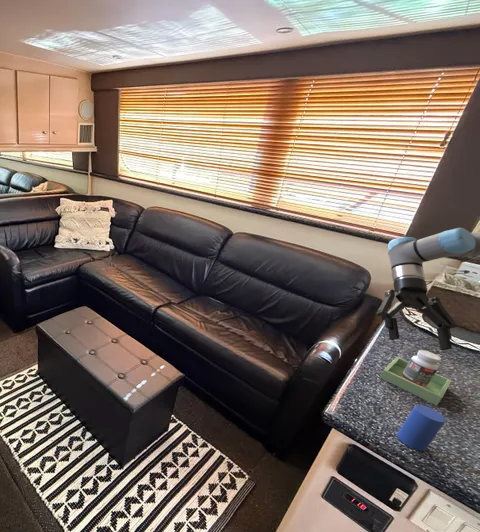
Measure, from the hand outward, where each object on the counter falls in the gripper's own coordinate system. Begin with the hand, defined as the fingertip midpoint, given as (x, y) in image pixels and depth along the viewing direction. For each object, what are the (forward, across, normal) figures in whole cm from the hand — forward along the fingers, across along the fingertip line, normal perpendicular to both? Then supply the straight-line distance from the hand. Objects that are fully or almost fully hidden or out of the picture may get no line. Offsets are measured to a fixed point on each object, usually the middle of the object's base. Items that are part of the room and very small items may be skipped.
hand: (420, 344), depth 97 cm
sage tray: (+11, 0, -5) cm, 12 cm away
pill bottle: (+11, 0, -4) cm, 12 cm away
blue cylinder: (+30, +18, +15) cm, 38 cm away
